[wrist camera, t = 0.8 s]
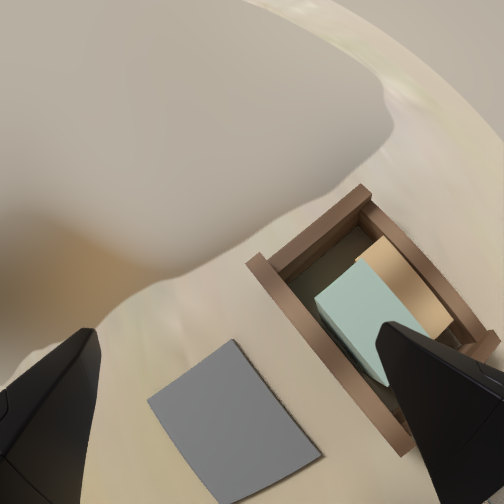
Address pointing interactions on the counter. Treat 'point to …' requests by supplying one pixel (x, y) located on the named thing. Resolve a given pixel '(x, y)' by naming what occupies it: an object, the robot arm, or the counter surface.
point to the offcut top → (407, 286)
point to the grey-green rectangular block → (362, 315)
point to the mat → (231, 426)
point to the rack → (275, 283)
